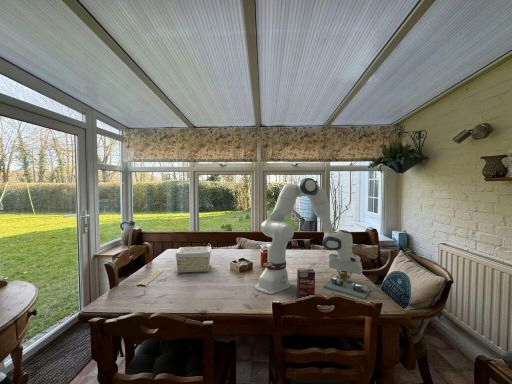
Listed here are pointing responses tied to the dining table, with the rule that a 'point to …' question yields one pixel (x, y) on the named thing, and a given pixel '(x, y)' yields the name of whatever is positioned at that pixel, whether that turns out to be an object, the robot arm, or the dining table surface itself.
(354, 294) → the bench plate
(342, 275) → the coupler
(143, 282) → the newspaper
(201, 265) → the storage basket
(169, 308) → the dining table surface
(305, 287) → the supplement box
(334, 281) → the shaft
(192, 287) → the dining table surface
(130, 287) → the dining table surface
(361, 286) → the shaft
